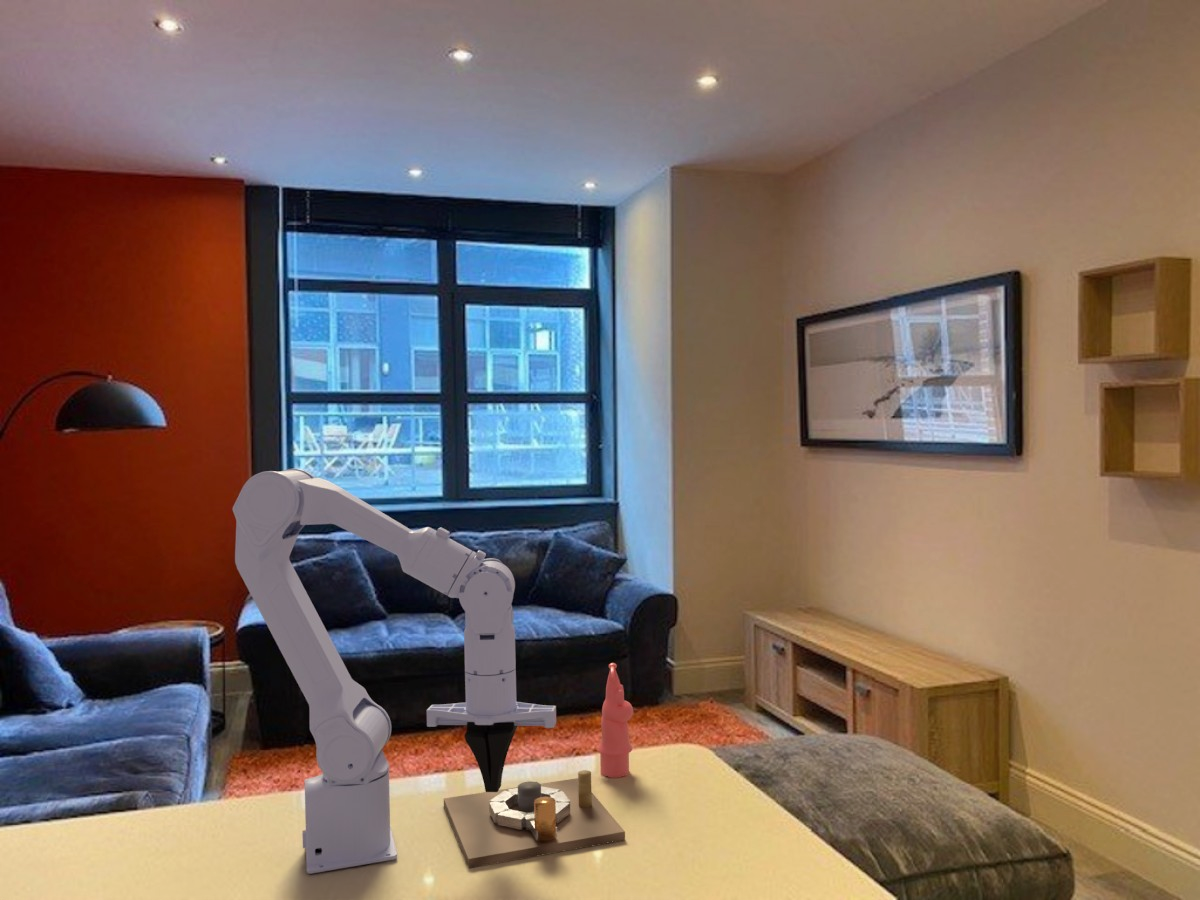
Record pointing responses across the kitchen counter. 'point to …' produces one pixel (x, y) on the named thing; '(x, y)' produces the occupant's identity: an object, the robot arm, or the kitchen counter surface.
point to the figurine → (615, 729)
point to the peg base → (502, 843)
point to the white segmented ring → (540, 820)
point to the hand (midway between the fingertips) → (493, 788)
